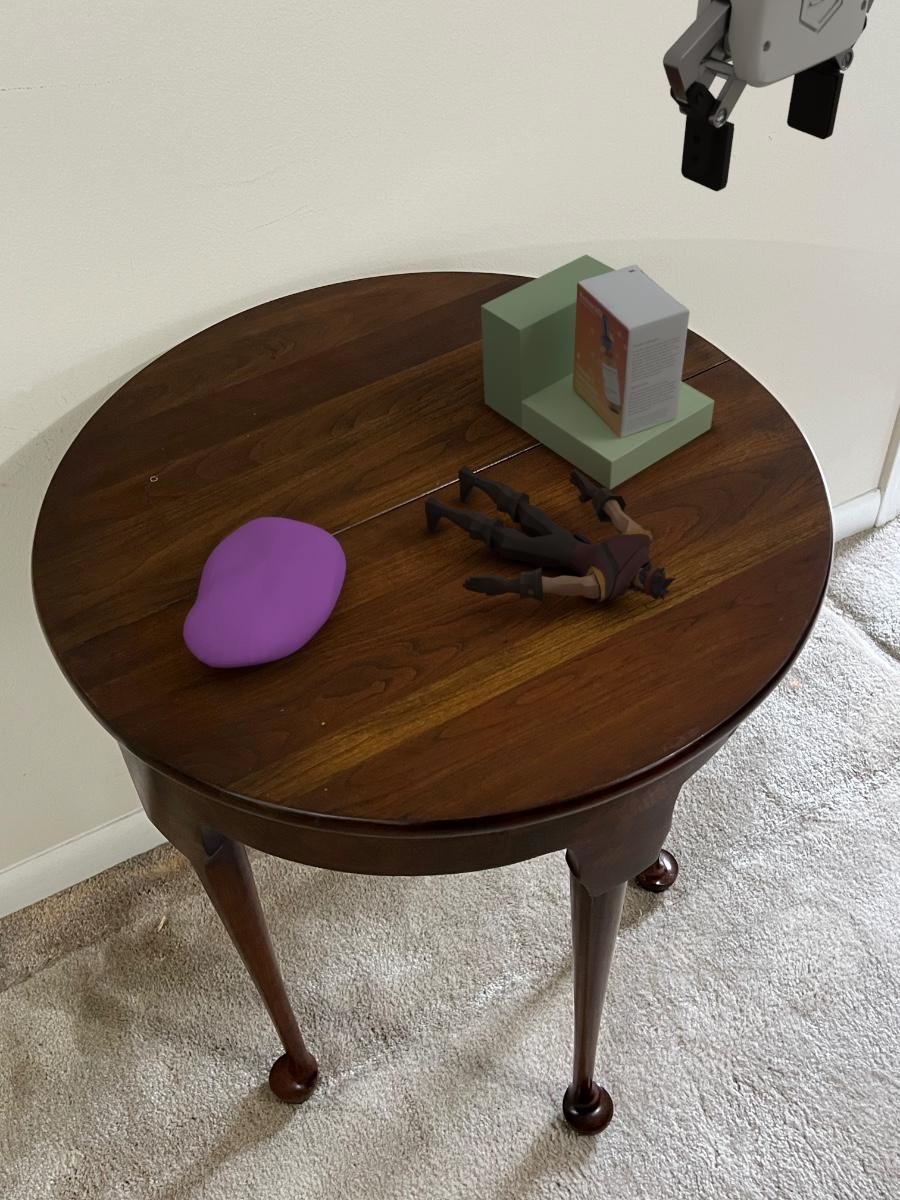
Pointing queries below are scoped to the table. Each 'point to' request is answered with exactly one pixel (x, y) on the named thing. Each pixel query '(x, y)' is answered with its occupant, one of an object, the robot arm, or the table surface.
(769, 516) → the table surface
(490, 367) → the green l-shaped step
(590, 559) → the figurine
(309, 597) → the blob
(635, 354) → the small box
